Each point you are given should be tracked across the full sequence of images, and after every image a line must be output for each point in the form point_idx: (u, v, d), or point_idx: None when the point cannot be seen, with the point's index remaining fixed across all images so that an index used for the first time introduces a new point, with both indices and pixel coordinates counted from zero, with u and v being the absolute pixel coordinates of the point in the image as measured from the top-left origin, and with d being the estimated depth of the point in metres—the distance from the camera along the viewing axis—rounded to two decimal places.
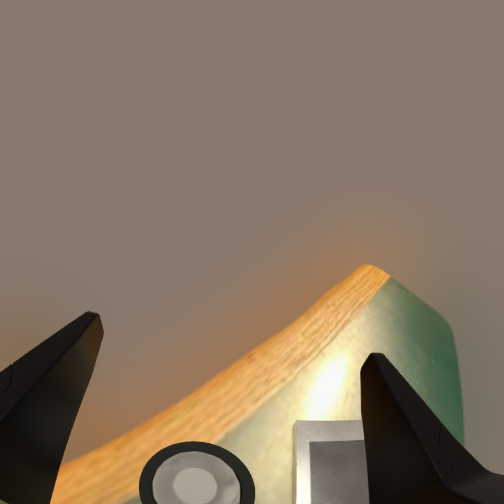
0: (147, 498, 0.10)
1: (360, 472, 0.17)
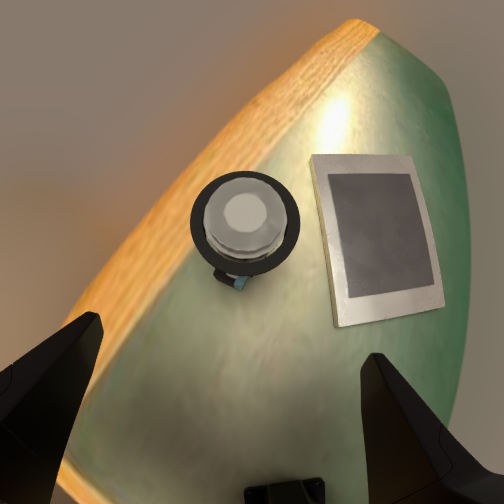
0: (202, 243, 0.14)
1: (379, 205, 0.23)
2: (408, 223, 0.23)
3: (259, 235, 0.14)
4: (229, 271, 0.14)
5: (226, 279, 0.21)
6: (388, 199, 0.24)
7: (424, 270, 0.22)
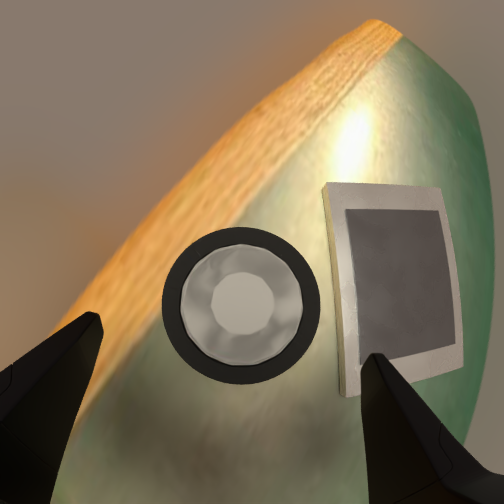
0: (179, 337, 0.10)
1: (403, 251, 0.19)
2: (434, 272, 0.19)
3: (262, 339, 0.09)
4: (217, 378, 0.09)
5: None
6: (414, 243, 0.19)
7: (446, 328, 0.18)
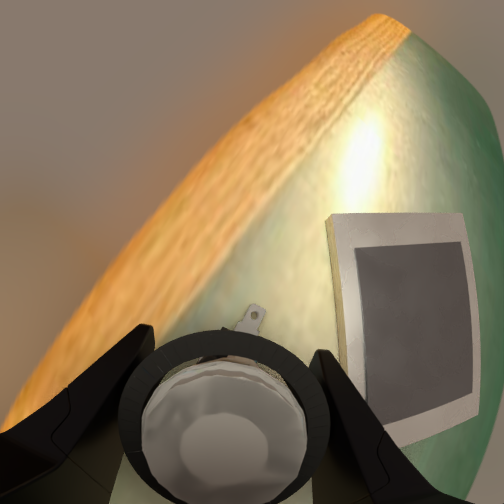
0: (145, 467, 0.06)
1: (421, 295, 0.15)
2: (454, 316, 0.15)
3: (252, 489, 0.05)
4: None
5: None
6: (433, 284, 0.16)
7: (464, 377, 0.14)
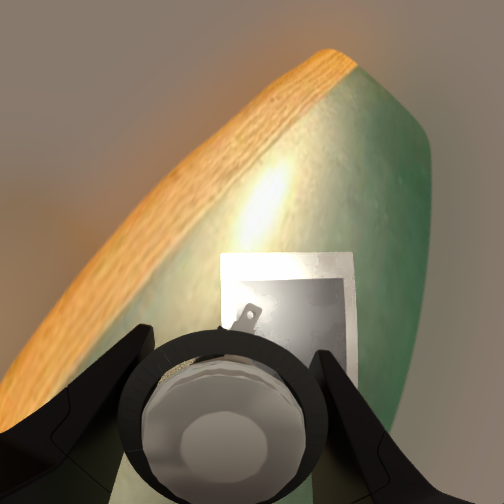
0: (144, 466, 0.06)
1: (291, 321, 0.21)
2: (326, 341, 0.21)
3: (251, 487, 0.05)
4: None
5: None
6: (306, 312, 0.22)
7: None
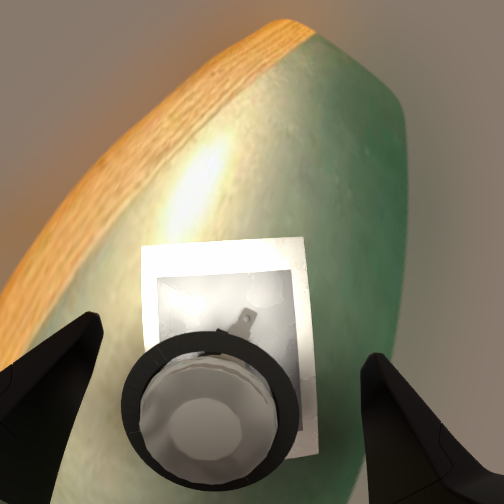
0: (142, 446, 0.07)
1: (225, 325, 0.17)
2: (270, 349, 0.17)
3: (228, 465, 0.07)
4: (186, 484, 0.07)
5: None
6: None
7: None
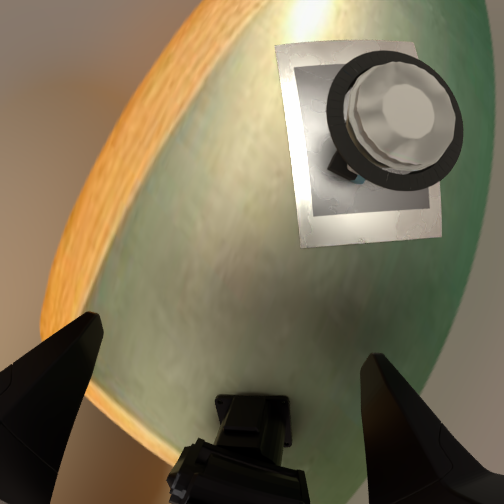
0: (346, 145, 0.10)
1: None
2: None
3: (428, 144, 0.08)
4: (383, 184, 0.10)
5: (346, 174, 0.16)
6: None
7: None
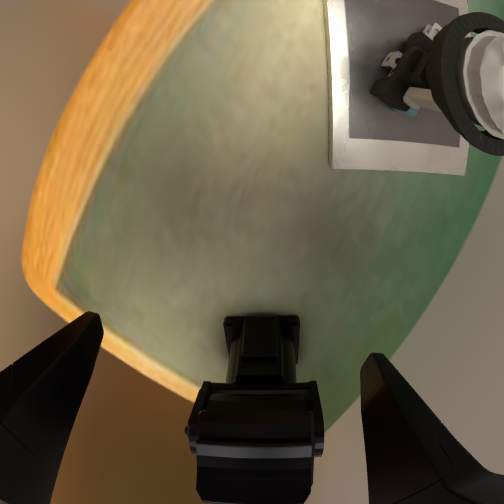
0: (453, 98, 0.07)
1: (408, 34, 0.13)
2: None
3: None
4: (476, 144, 0.08)
5: (398, 104, 0.13)
6: (423, 29, 0.12)
7: (451, 127, 0.15)
